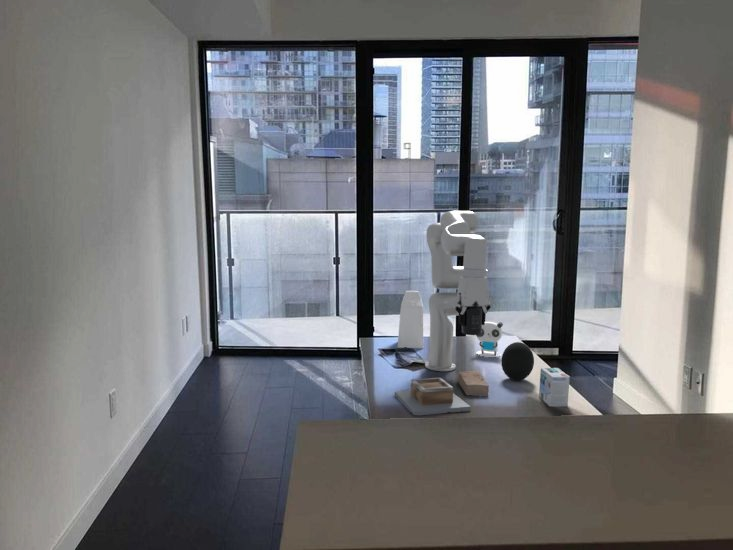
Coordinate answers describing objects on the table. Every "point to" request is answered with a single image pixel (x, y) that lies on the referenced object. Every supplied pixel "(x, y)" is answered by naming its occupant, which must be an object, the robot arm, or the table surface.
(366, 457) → the table surface
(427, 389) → the plinth
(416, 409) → the baseplate
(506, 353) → the decorative egg
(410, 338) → the milk
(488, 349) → the panda figurine
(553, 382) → the light bulb box
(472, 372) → the brick
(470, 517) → the table surface
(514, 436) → the table surface
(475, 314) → the supplement bottle
